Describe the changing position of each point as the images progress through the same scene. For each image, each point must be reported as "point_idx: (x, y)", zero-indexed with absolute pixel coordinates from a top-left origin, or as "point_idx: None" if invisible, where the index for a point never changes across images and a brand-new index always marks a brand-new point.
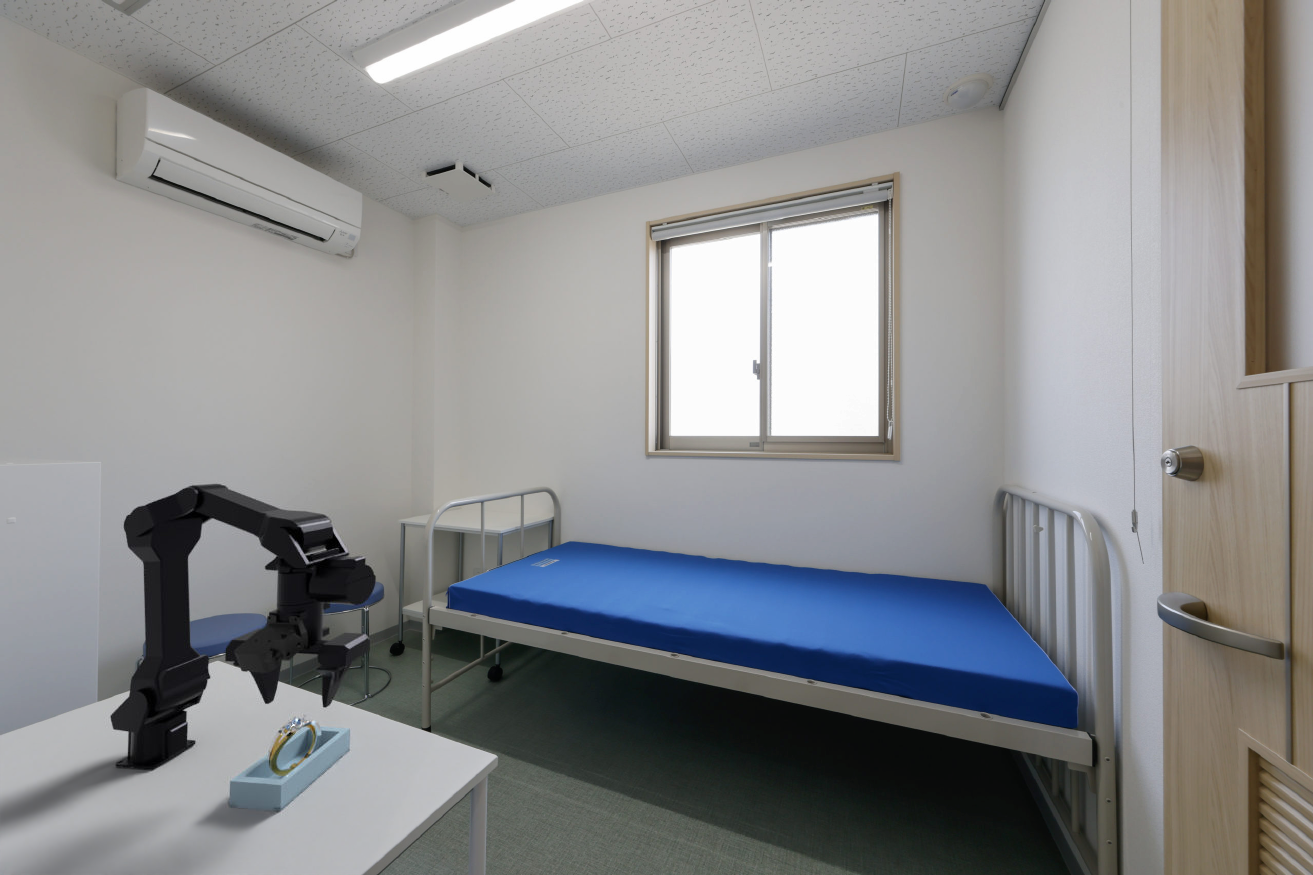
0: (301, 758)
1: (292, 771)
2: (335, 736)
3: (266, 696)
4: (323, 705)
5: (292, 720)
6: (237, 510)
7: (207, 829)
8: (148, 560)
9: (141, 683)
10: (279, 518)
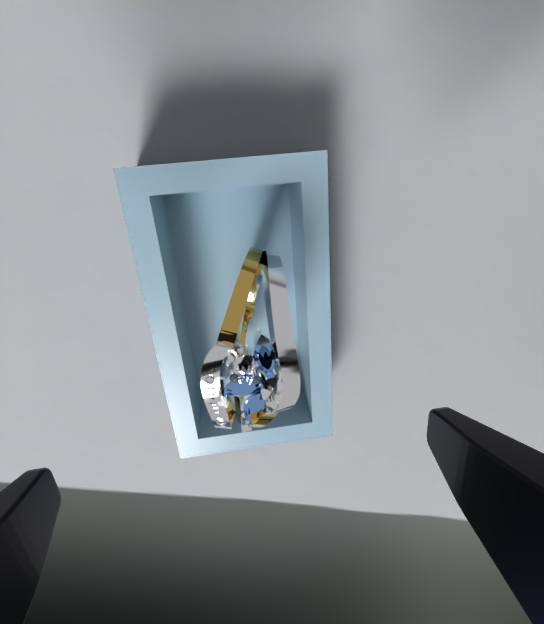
0: None
1: (149, 241)
2: (189, 418)
3: (463, 436)
4: (33, 476)
5: (257, 382)
6: None
7: (281, 55)
8: None
9: None
10: None
